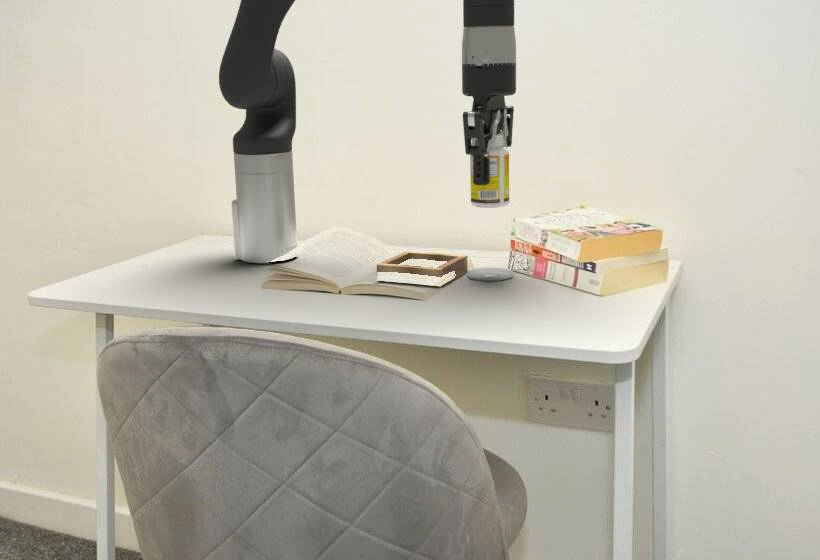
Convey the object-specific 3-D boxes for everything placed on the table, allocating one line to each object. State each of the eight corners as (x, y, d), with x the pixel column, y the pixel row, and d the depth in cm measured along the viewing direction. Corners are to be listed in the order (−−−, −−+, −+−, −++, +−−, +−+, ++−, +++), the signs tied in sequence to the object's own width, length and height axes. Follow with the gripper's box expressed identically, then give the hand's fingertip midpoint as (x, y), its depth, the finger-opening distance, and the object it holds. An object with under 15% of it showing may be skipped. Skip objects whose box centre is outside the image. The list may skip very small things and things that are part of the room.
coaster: (458, 278, 138) (458, 276, 138) (476, 268, 144) (476, 266, 144) (504, 282, 135) (504, 280, 135) (520, 272, 141) (520, 269, 141)
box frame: (377, 281, 138) (376, 264, 137) (407, 266, 147) (406, 251, 146) (440, 287, 134) (440, 269, 133) (467, 272, 142) (467, 255, 142)
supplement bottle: (495, 201, 141) (495, 131, 139) (516, 206, 136) (517, 134, 134) (463, 204, 139) (462, 133, 136) (483, 210, 134) (483, 136, 131)
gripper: (482, 60, 141) (483, 174, 145) (443, 62, 128) (445, 187, 132) (531, 59, 137) (530, 176, 141) (495, 61, 125) (496, 189, 129)
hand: (489, 181), depth 137 cm, fingers closed on supplement bottle, 5 cm apart
